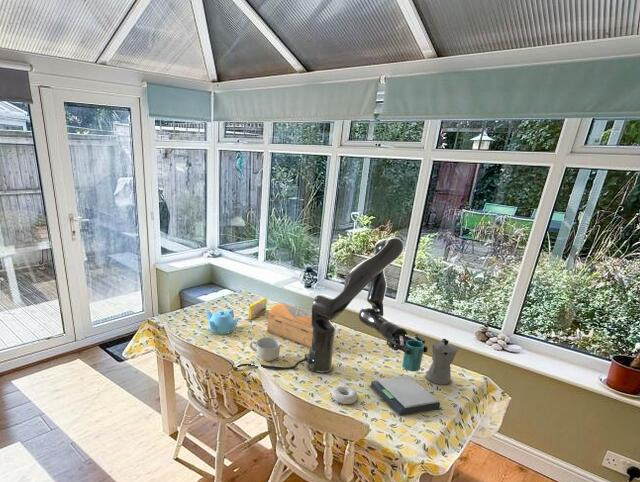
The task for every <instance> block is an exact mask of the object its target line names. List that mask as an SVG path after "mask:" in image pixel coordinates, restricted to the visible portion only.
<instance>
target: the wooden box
mask: <svg viewBox="0 0 640 482" xmlns="http://www.w3.org/2000/svg"><path fill="white" fill-rule="evenodd" d="M330 322H331V323H332V324H333V325H334V320H330ZM267 332H268V333H271V334H274V335H276V336H280V337H282V338H284V339H288V340H289V341H293V342H295V343H297V344H301V345H303V346H306V347H308V348H310V346H312V335H313V327H312V310H308V309H305V308H301V307H299V306H294V305H291V304H287V303H285V302H278V303H276V304H274V305H273V306H271V308H270V309H269V311H268V313H267Z"/></svg>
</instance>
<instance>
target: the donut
mask: <svg viewBox="0 0 640 482" xmlns="http://www.w3.org/2000/svg"><path fill="white" fill-rule="evenodd" d="M330 395H331V398H332V399H333V400H334V401H335V402H337V403H339V404H342V405H351V404H353V403H355V402H356V401H357V400H358V397H359V395H358V392H357V390H356V389H354V388H353V387H351V386H348V385H337V386H335V387H334V388H332V390H331V392H330Z"/></svg>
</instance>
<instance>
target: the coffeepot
mask: <svg viewBox="0 0 640 482" xmlns="http://www.w3.org/2000/svg"><path fill="white" fill-rule="evenodd" d="M449 342H450V341H449V340H448V339H446V338H442V340H441V341H435V343H433V344H432V356H431V359H432V363H431V364H430V367H429V369H428V371H427V373H426V378H427V380H429V381H430V382H431V383H434V384H438V385H448V384H449V383H450V382H451V376H452V375H451V374H452V373H451V370H452V369H451V365H452V363H453V362H454V360H455V357H456V354H457V352H458V350H459V349H458V348H457V347H456V346H455V345H454V344H452V343H449Z"/></svg>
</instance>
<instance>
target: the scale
mask: <svg viewBox="0 0 640 482" xmlns="http://www.w3.org/2000/svg"><path fill="white" fill-rule="evenodd" d="M370 383H371V384H370V387H371V388H372V390H374V391H375V392H376V393H377V394H378V395H379V396H380V397H381V398H382V399H383V401H385V403H386V404H388V405H389V406H390V407H391V409H393V411H395V412H396V413H397V414H398V416H404V415H410V414H416V413H421V412H427V411H434V410H439V409H440V407H441V402H440V400H439V399H438V398H436V397H435V396H434V395H433V394H431V392H429V391H428V390H426V389H425V388H424V387H423V386H422V385H420V383H418V382H417V381H416V380H415V379H414V378H413V377H411V376H409V374H406V375H398V376H391V377H385V378H379V379H377V380H372V381H371V382H370Z"/></svg>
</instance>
